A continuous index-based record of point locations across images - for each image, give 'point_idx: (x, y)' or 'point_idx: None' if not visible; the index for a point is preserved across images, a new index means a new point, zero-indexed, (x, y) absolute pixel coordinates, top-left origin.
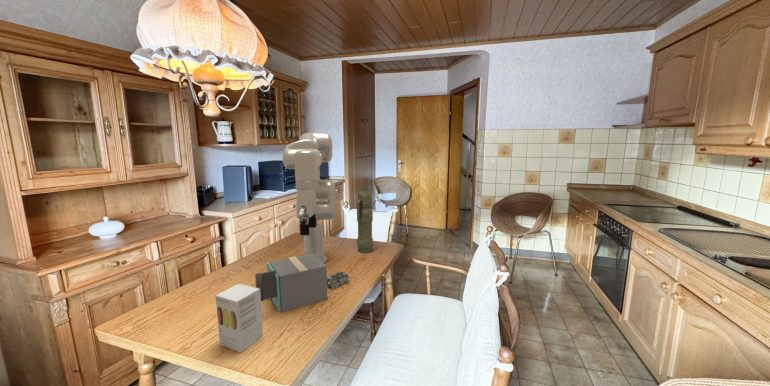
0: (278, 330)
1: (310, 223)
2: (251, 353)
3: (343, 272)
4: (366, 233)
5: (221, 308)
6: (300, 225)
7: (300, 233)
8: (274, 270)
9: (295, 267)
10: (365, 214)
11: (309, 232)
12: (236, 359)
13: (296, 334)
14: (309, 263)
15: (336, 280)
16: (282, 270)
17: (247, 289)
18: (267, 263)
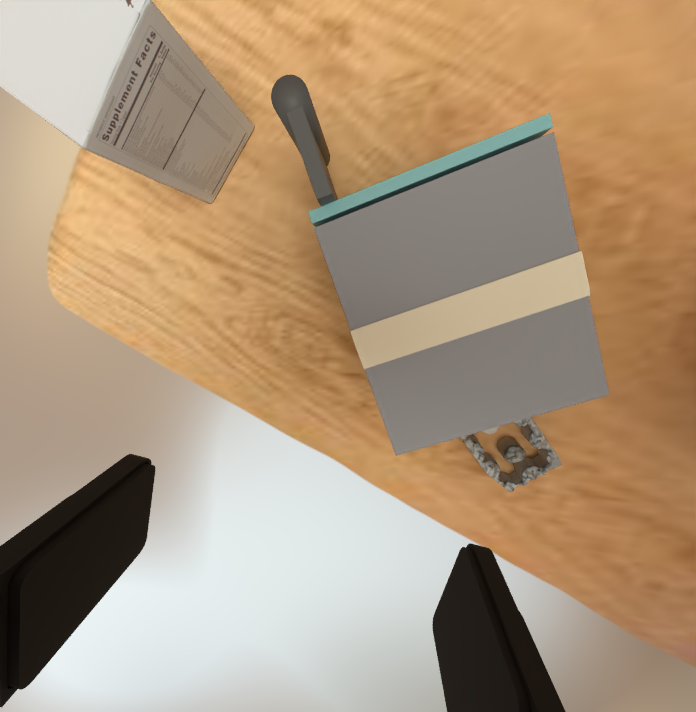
0: (233, 247)
1: (466, 627)
2: (137, 184)
3: (541, 474)
4: None
5: None
6: (1, 560)
7: (119, 466)
8: (327, 192)
9: (415, 304)
10: None
11: (118, 570)
12: None
13: (207, 302)
14: (452, 377)
15: (467, 443)
16: (392, 235)
17: (67, 75)
18: (531, 122)
